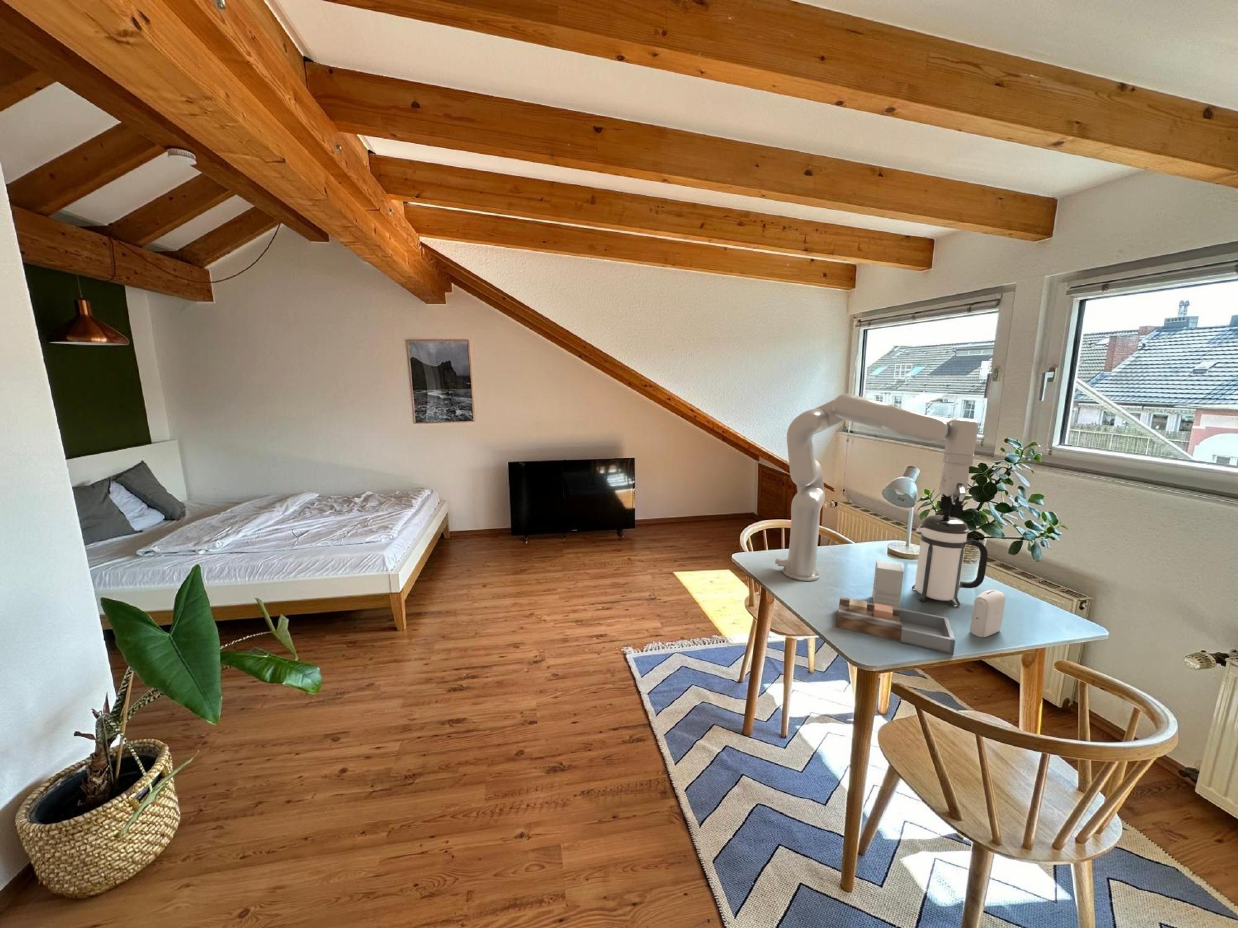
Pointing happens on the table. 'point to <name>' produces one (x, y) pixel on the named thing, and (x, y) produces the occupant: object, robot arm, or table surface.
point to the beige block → (858, 606)
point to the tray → (926, 631)
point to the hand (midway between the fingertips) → (950, 513)
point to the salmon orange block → (883, 611)
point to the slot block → (869, 621)
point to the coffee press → (945, 558)
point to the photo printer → (987, 613)
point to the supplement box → (887, 584)
